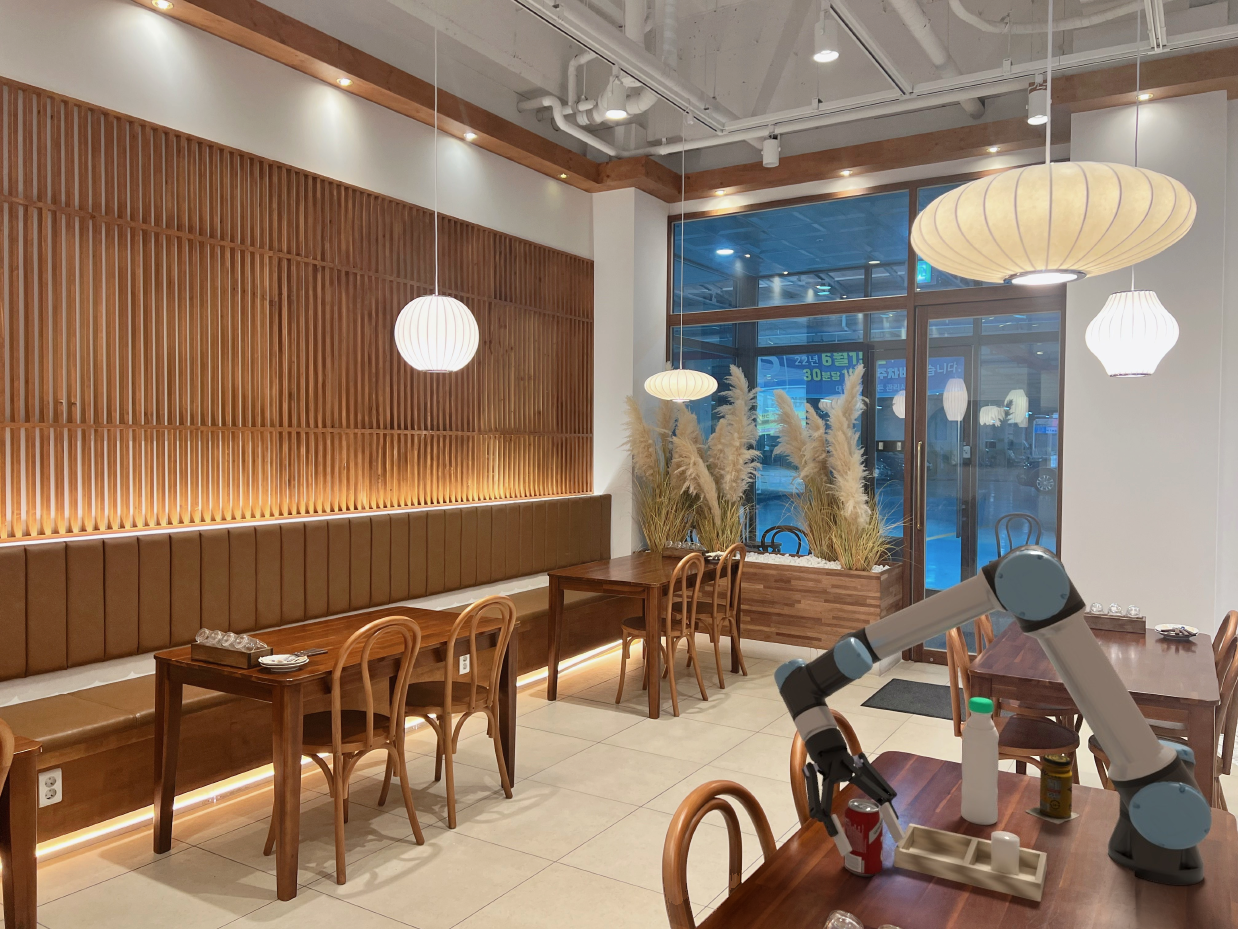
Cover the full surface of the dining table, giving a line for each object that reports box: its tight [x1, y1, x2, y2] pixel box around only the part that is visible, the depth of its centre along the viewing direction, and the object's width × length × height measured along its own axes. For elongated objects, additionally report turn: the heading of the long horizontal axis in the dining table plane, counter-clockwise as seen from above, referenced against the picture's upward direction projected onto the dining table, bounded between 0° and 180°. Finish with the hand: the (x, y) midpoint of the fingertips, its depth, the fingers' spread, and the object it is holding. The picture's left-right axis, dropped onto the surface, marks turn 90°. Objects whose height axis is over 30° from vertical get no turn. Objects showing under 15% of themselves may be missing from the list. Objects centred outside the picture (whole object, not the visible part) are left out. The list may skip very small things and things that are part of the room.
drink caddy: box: [893, 823, 1048, 903], centre depth 157 cm, size 24×13×4 cm, turn 60°
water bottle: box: [960, 696, 1000, 826], centre depth 181 cm, size 7×7×25 cm
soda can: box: [843, 798, 884, 878], centre depth 158 cm, size 7×7×12 cm
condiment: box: [1025, 753, 1081, 825], centre depth 184 cm, size 7×8×12 cm
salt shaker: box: [990, 830, 1021, 876], centre depth 155 cm, size 5×5×7 cm
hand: (874, 846), depth 156 cm, fingers open, 12 cm apart
